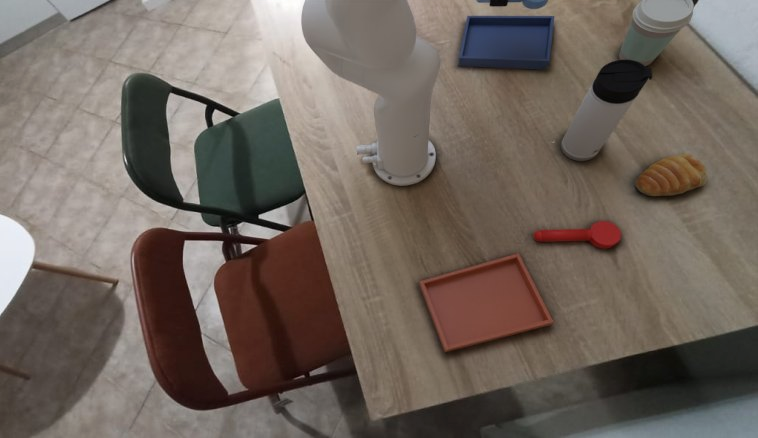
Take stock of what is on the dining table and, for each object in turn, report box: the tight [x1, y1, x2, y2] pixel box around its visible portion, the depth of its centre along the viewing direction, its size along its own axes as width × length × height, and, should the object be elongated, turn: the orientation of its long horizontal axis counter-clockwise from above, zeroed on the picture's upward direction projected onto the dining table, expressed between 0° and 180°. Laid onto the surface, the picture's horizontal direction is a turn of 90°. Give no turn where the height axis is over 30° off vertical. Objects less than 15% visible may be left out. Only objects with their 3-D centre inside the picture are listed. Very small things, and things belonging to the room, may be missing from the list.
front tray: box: [419, 252, 554, 353], centre depth 74 cm, size 17×12×2 cm
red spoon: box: [532, 220, 622, 249], centre depth 75 cm, size 13×4×2 cm, turn 85°
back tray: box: [457, 15, 555, 70], centre depth 94 cm, size 17×12×2 cm
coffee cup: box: [618, 0, 695, 67], centre depth 81 cm, size 8×8×12 cm
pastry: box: [635, 153, 708, 197], centre depth 74 cm, size 9×7×4 cm
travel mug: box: [560, 59, 653, 162], centre depth 73 cm, size 6×7×20 cm
